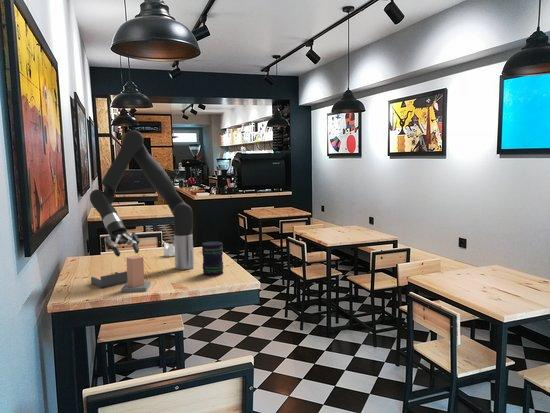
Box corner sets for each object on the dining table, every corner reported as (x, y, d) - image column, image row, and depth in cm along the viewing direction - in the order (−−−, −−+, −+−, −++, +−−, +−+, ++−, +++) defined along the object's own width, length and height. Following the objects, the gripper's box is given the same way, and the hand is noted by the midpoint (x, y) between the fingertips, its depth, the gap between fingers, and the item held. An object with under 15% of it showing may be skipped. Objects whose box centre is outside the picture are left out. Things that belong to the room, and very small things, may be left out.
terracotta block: (127, 285, 174) (126, 257, 173) (138, 282, 178) (137, 255, 177) (133, 287, 171) (132, 259, 170) (144, 284, 174) (143, 257, 173)
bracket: (169, 257, 235) (169, 245, 235) (164, 256, 241) (163, 243, 240) (189, 254, 244) (189, 242, 243) (183, 252, 249) (183, 240, 249)
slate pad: (150, 284, 180) (150, 281, 180) (146, 291, 170) (146, 287, 170) (127, 285, 179) (126, 282, 179) (121, 292, 169) (121, 288, 169)
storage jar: (198, 274, 196) (197, 243, 195) (213, 270, 204) (212, 240, 203) (213, 277, 190) (212, 245, 189) (227, 273, 198) (227, 242, 197)
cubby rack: (91, 283, 183) (90, 272, 182) (117, 278, 191) (116, 267, 191) (102, 288, 175) (101, 277, 175) (128, 282, 184) (127, 271, 183)
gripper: (101, 221, 176) (115, 251, 170) (131, 218, 187) (146, 246, 180) (96, 232, 181) (110, 262, 174) (126, 228, 191) (140, 256, 184)
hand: (128, 253), depth 177 cm, fingers open, 8 cm apart
